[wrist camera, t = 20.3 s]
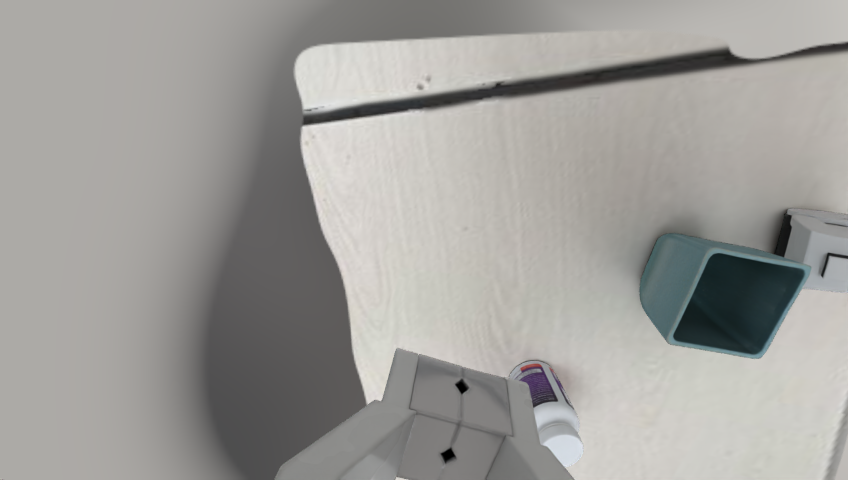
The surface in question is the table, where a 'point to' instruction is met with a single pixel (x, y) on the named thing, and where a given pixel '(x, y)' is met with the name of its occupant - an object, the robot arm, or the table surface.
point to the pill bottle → (552, 411)
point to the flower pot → (718, 294)
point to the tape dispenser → (817, 246)
